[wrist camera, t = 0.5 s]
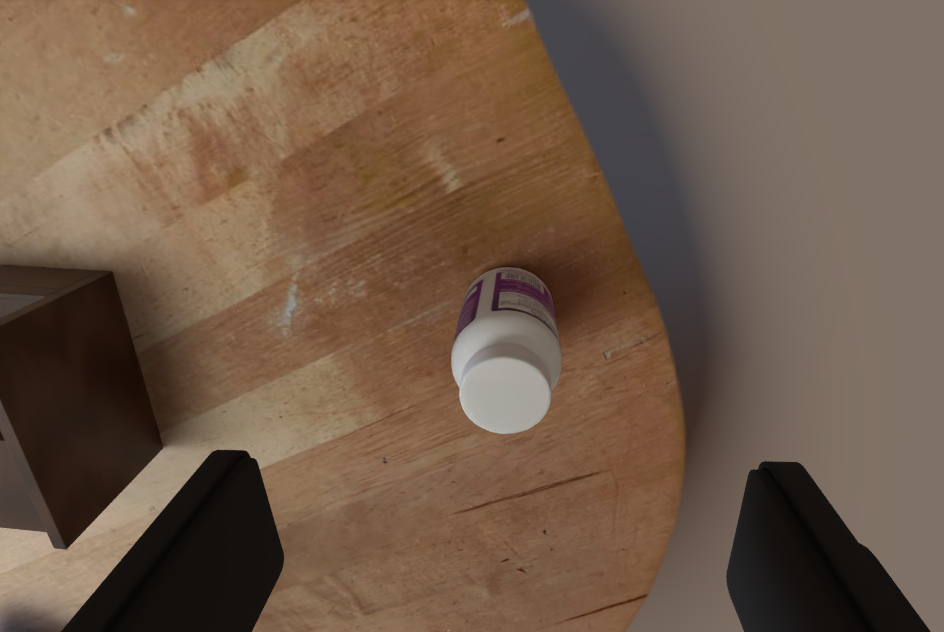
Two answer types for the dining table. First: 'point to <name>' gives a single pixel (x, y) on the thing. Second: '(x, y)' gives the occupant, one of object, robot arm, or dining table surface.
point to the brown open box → (67, 401)
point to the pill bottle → (506, 351)
